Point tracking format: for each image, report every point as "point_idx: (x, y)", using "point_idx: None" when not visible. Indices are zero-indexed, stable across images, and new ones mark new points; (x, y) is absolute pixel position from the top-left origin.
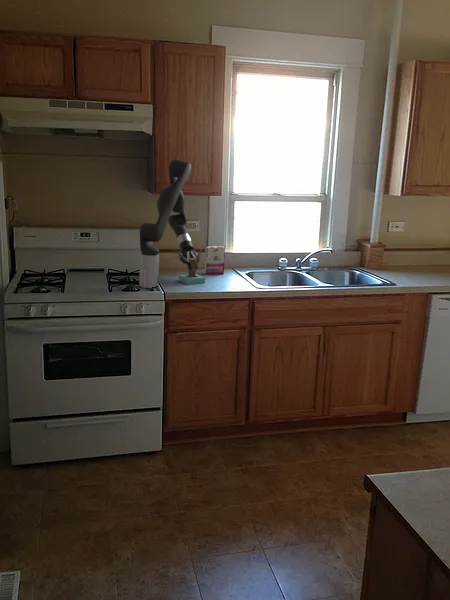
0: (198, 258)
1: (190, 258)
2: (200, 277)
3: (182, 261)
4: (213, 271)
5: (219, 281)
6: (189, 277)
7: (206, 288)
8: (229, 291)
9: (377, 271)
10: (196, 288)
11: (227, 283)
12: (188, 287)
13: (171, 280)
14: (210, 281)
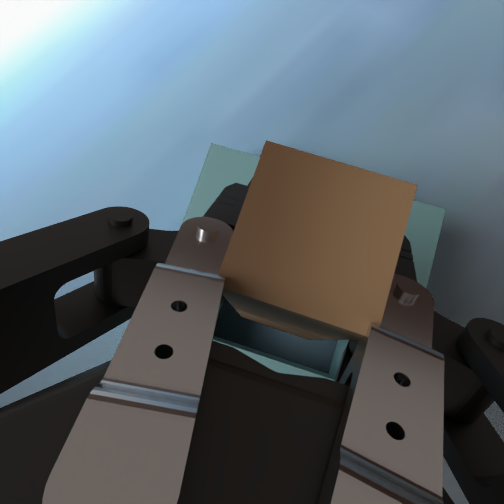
0: (81, 240)
1: (342, 306)
2: (244, 183)
3: (500, 445)
4: None
5: (39, 147)
6: (268, 356)
7: (364, 9)
8: None
9: None
10: (447, 52)
11: (49, 51)
12: (491, 118)
13: (453, 481)
14: (112, 194)
